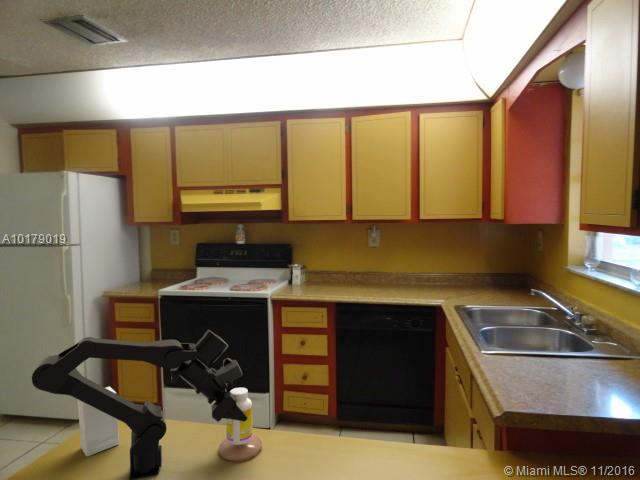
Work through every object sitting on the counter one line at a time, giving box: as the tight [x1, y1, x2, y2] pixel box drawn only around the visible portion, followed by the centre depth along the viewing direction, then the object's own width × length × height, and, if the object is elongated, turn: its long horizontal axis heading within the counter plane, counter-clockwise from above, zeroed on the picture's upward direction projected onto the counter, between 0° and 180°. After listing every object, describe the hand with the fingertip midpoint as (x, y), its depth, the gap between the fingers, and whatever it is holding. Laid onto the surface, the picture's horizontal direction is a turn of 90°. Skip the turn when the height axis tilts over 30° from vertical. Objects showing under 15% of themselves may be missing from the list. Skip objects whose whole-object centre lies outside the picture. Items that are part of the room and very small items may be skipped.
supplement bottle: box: [225, 387, 253, 445], centre depth 104 cm, size 7×7×13 cm
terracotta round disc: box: [218, 434, 263, 462], centre depth 104 cm, size 11×11×1 cm
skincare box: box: [77, 385, 120, 457], centre depth 106 cm, size 8×6×15 cm
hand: (244, 413), depth 104 cm, fingers closed on supplement bottle, 7 cm apart
